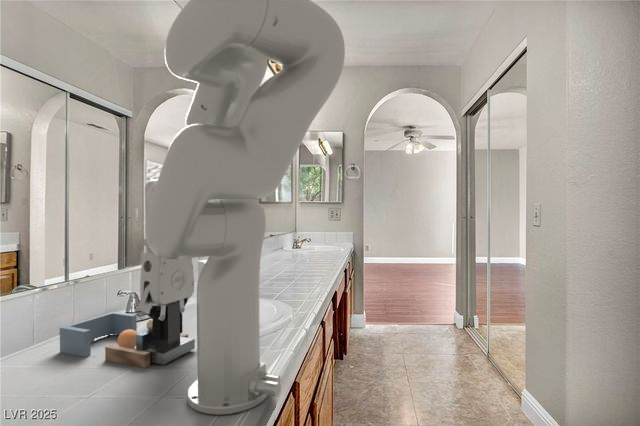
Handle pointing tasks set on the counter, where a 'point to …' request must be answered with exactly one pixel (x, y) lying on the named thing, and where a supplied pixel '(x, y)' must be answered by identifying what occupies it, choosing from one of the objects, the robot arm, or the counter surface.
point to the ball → (127, 339)
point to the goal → (94, 331)
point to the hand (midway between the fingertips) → (167, 335)
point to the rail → (129, 355)
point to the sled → (174, 343)
